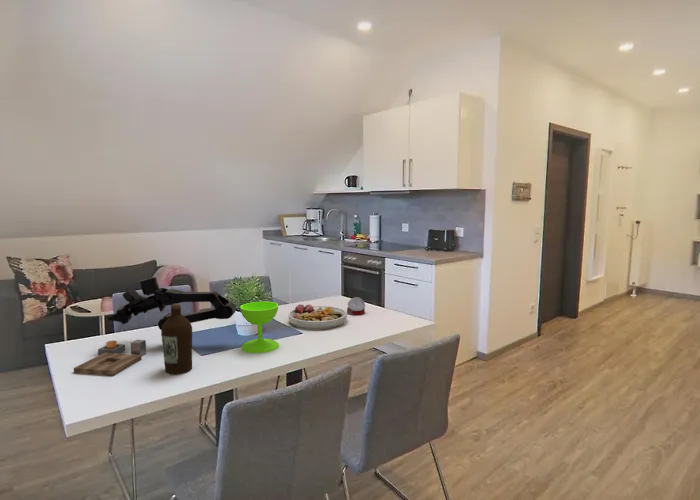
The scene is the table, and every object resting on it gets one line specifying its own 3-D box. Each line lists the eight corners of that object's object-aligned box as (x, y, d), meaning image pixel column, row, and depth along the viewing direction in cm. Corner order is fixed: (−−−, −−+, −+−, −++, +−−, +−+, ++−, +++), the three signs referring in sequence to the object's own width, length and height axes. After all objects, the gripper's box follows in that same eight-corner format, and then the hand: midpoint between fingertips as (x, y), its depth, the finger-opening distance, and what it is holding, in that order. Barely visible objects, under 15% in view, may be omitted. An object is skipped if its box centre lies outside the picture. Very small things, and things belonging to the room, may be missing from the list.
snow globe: (364, 320, 242) (372, 306, 239) (354, 322, 234) (363, 307, 231) (349, 308, 247) (357, 294, 244) (339, 310, 239) (347, 295, 236)
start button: (119, 347, 178) (118, 340, 178) (112, 350, 174) (112, 343, 174) (110, 346, 179) (110, 340, 178) (104, 349, 175) (103, 343, 175)
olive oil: (178, 362, 167) (175, 299, 164) (200, 366, 163) (197, 302, 160) (156, 373, 157) (153, 306, 154) (179, 377, 154) (176, 309, 151)
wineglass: (233, 350, 181) (232, 308, 179) (254, 338, 196) (253, 300, 194) (266, 355, 175) (265, 312, 173) (285, 342, 190) (285, 303, 188)
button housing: (125, 351, 180) (125, 344, 179) (114, 357, 173) (113, 350, 172) (110, 350, 181) (110, 343, 180) (98, 356, 174) (97, 349, 173)
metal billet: (146, 354, 177) (145, 340, 176) (140, 357, 173) (139, 343, 172) (137, 353, 177) (136, 339, 176) (131, 357, 173) (130, 342, 172)
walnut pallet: (141, 359, 170) (141, 354, 170) (113, 376, 155) (113, 370, 154) (105, 357, 173) (104, 352, 173) (74, 373, 157) (73, 368, 157)
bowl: (357, 320, 227) (357, 305, 226) (324, 335, 202) (324, 319, 201) (312, 312, 243) (312, 298, 242) (276, 325, 218) (276, 310, 217)
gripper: (148, 279, 190) (115, 290, 190) (130, 294, 172) (93, 305, 172) (158, 302, 193) (125, 312, 193) (141, 318, 175) (105, 330, 175)
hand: (112, 314), depth 183 cm, fingers open, 9 cm apart
